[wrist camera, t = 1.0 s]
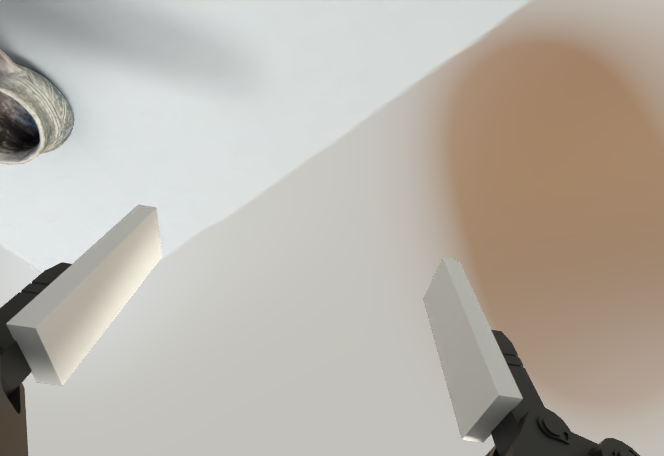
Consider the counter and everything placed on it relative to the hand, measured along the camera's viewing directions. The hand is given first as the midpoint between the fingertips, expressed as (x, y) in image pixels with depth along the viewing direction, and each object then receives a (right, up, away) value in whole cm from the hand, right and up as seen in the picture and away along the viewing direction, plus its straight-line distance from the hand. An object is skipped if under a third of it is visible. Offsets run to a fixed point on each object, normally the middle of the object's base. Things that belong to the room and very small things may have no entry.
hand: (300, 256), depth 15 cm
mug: (-32, +17, +22) cm, 42 cm away
